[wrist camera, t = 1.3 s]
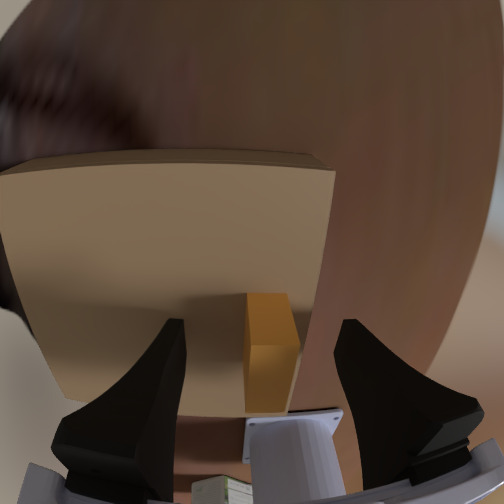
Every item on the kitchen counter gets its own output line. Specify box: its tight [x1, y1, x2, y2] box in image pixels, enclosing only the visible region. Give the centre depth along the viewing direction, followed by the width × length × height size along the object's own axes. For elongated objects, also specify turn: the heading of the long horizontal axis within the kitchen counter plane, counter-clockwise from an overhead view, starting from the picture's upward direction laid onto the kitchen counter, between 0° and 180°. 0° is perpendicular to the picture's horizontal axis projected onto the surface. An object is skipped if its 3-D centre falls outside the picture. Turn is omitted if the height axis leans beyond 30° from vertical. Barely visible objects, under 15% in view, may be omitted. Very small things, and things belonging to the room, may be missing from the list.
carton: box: [1, 149, 330, 173], centre depth 15 cm, size 14×14×3 cm
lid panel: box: [0, 160, 336, 417], centre depth 12 cm, size 14×14×4 cm
